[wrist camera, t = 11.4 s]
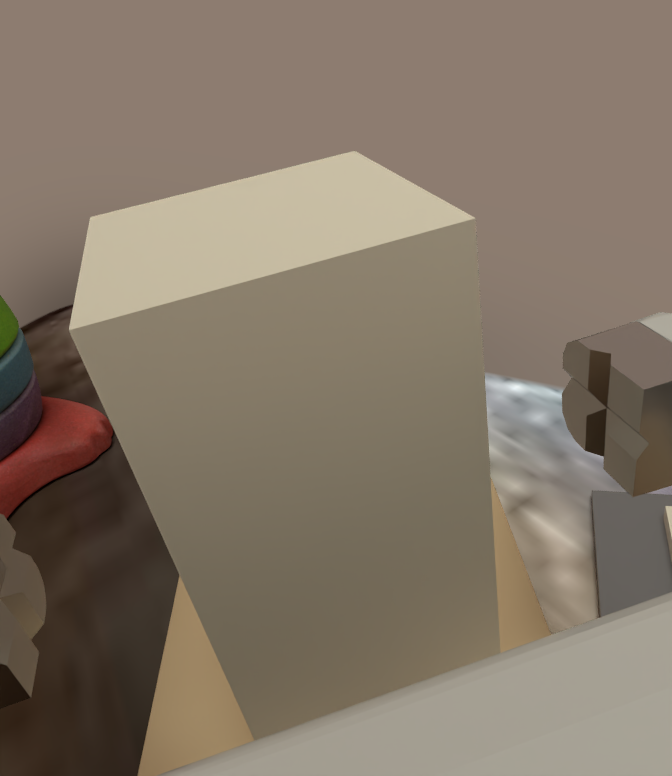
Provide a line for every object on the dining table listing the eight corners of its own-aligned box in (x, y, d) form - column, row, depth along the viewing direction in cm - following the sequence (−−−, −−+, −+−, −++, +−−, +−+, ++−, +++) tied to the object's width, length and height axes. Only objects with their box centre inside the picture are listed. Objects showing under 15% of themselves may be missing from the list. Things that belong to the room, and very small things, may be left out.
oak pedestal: (195, 979, 14) (114, 887, 11) (233, 630, 22) (190, 526, 19) (606, 931, 14) (622, 822, 11) (497, 590, 21) (490, 477, 18)
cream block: (271, 777, 12) (68, 330, 7) (234, 588, 17) (90, 217, 11) (502, 685, 13) (475, 218, 8) (412, 526, 17) (354, 151, 12)
